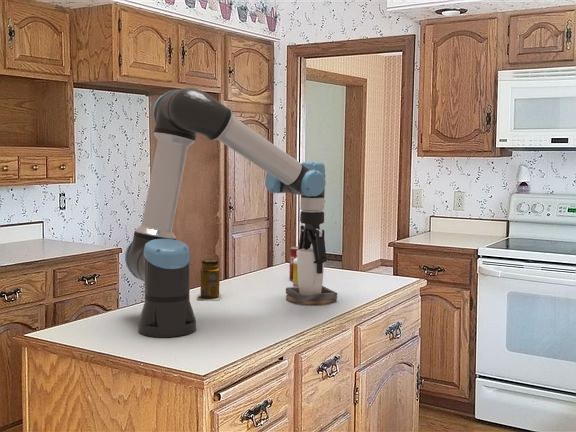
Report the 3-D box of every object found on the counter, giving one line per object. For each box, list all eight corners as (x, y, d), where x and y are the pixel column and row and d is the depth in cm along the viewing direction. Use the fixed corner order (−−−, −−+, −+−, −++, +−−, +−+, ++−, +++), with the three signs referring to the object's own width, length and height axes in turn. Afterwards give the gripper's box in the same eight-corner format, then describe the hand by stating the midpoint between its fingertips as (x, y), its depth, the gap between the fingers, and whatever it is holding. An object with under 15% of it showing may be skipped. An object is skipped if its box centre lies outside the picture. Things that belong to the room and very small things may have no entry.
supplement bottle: (309, 290, 230) (310, 253, 229) (290, 289, 232) (291, 252, 230) (314, 286, 236) (314, 250, 235) (295, 285, 238) (296, 249, 237)
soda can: (309, 282, 244) (310, 249, 243) (289, 282, 244) (289, 249, 243) (309, 278, 251) (309, 246, 250) (289, 278, 251) (289, 246, 250)
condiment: (221, 294, 222) (221, 258, 221) (219, 300, 214) (219, 263, 213) (199, 294, 222) (199, 258, 221) (196, 300, 214) (196, 262, 213)
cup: (304, 292, 222) (305, 247, 221) (325, 295, 219) (326, 249, 217) (294, 297, 216) (295, 250, 214) (315, 299, 212) (316, 252, 211)
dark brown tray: (297, 307, 206) (297, 297, 206) (278, 295, 221) (279, 286, 221) (344, 303, 212) (344, 293, 212) (323, 292, 227) (324, 283, 227)
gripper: (338, 214, 205) (337, 286, 207) (309, 207, 226) (308, 273, 228) (315, 214, 202) (314, 288, 204) (288, 207, 223) (287, 274, 225)
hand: (311, 280), depth 216 cm, fingers open, 10 cm apart
